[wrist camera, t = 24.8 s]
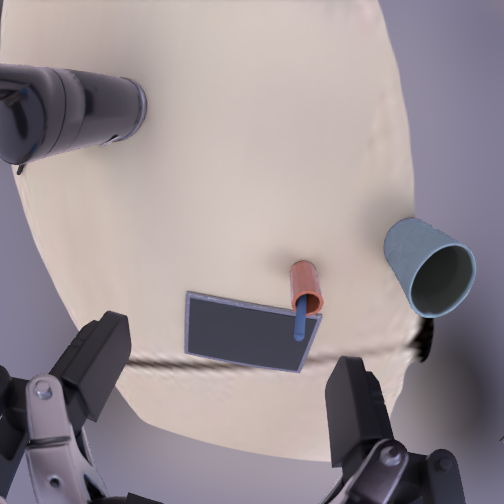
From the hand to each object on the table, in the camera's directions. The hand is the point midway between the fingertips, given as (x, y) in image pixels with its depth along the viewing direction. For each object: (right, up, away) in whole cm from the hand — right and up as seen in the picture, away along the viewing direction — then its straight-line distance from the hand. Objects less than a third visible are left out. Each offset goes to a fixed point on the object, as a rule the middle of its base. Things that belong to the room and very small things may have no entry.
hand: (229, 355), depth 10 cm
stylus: (+8, +1, +32) cm, 33 cm away
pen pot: (+8, +1, +32) cm, 33 cm away
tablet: (0, -11, +38) cm, 40 cm away
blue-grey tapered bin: (+24, +5, +29) cm, 38 cm away
